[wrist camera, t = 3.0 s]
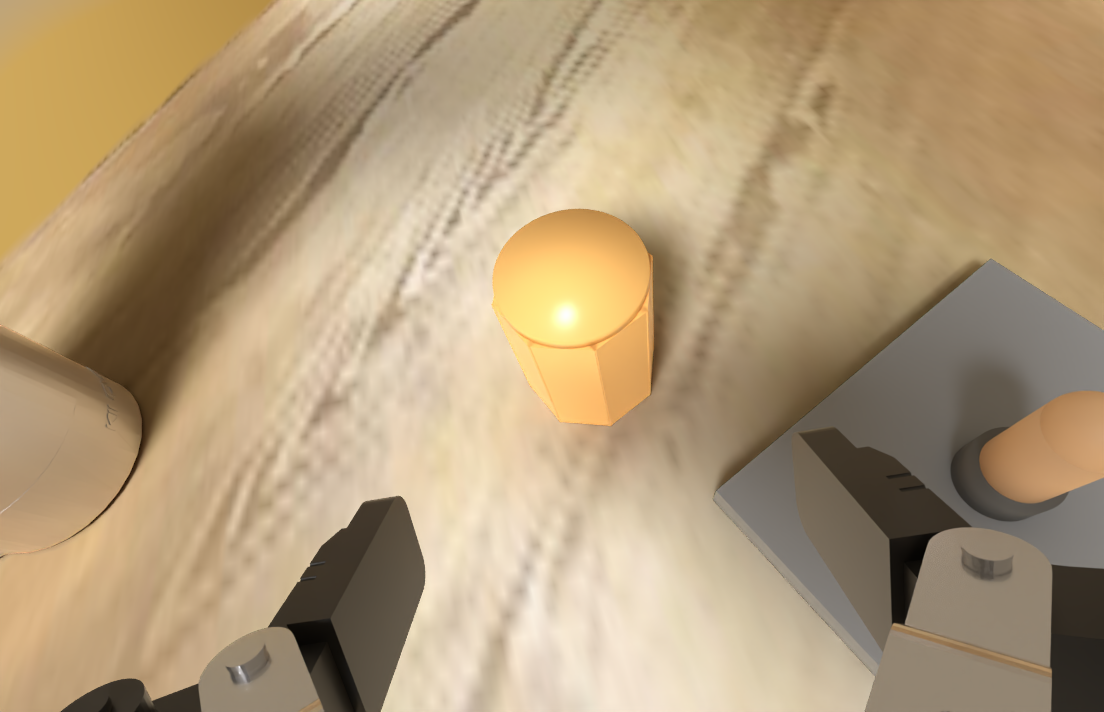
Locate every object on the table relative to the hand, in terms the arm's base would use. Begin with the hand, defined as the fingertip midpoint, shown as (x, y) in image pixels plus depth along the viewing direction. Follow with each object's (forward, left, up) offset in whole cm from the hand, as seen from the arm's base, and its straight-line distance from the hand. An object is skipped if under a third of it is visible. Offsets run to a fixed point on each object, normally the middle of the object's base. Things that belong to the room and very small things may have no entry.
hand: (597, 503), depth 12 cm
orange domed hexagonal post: (+5, +8, -13) cm, 16 cm away
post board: (+13, -6, -13) cm, 19 cm away
